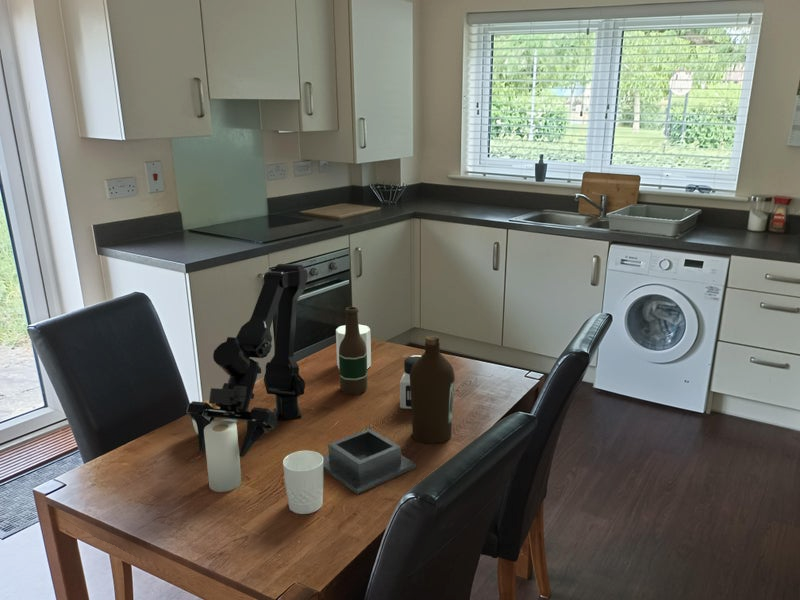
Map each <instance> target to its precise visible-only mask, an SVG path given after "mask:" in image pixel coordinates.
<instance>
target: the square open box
mask: <svg viewBox="0 0 800 600" xmlns="http://www.w3.org/2000/svg"><path fill="white" fill-rule="evenodd" d="M327 447H328V454H326V455H322V456H323V472H324V471H325V473H328V475H330V476H331V477H333V478H334V479H335V480H337V481H338V482H340V483H341V484H343V485H344V486H345V487H346V488H348V489H350V490H351V491H352V492H354V493H355V494H356V495H359V494H361V493H363V492H366V491H368V490H370V489H372V488H374V487H377V486H378V485H381V484H382V483H385V482H387V481H390V480H392V479H394V478H396V477H398V476H400V475H403V474H405V473H407V472H410V471H411V470H414V469H416V468H417V463H416V462H414V461H412V460H410V459H409V458H407V457H405V456H404V455H402V446H400V445H399V444H398V443H395V442H393V441H392V440H390V439H389V438H387V437H386V436H383V435H381V434H380V433H378V432H377V431H375V430H373V429H371V427H370V428H366V429H364V430H362V431H358V432H356V433H354V434H351V435H349V436H345V437H344V438H341V439H338V440H335V441H333V442H330V443H328V446H327Z"/></svg>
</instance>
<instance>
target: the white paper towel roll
mask: <svg viewBox="0 0 800 600" xmlns="http://www.w3.org/2000/svg"><path fill="white" fill-rule="evenodd" d="M204 438H205V456H206V457H205V458H206V466H207V475H208V484H209V489H210V490H211V491H214V492H216V493H226V492H227V493H228V492H230V491H233V490H235V489H238V487H240V486H241V484H242V471H241V461H240V460H241V459H240V446H239V437H238V425H237V424H235V423H234V422H232V421H217V422H213V423H210V424H208V425H207V426H206V427H205V428H204Z"/></svg>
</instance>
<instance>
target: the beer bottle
mask: <svg viewBox="0 0 800 600" xmlns="http://www.w3.org/2000/svg"><path fill="white" fill-rule="evenodd" d="M344 313H345V325H346V327H345V337H344V339H343V340H342V342H341V344H340V347H339V368H338V370H339V386H340V391H341V392H342V393H344V394H345V395H352V396H353V395H354V396H355V395H361V394H364V393H365V392H366V390H367V388H368V370H367V350H366V344H365V342H364V340H363V339H362V337H361V336H360V332H359V324H360V323H359V317H358V316H359V315H358V313H359V309H358V307H356V306H350V307H349V306H347V307H346V308H345V310H344Z"/></svg>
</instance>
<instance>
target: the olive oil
mask: <svg viewBox="0 0 800 600" xmlns="http://www.w3.org/2000/svg"><path fill="white" fill-rule="evenodd" d="M440 344H441V343H440V337H439V336H437V335H427V336H425V343H424V353H423V354H422V355H420V356H421V357H420V358H419V359H418V360H417V361H416V362H415V363H414V364H413V366H412V368H411V371H410V391H411V408H412V409H411V423H412V424H411V426H412V428H411V429H412V432H411V433H412V436H413V438H414V439H415V440H417V442H418V441H419V443H423V444H430V445H431V444H435V445H436V444H441V443H445V442H446V441H448V440H449V439H450V438H451V437H452V428H453V427H452V426H453V425H452V423H453V409H454V407H453V406H454V395H455V393H454V392H455V380H456V379H455V378H456V377H455V375H456V374H455V371H454V368H453V366H452V364H451V362H449V361H448V359H446V358H445V357H444V355H443V354H442V353H441V352H440Z"/></svg>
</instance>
